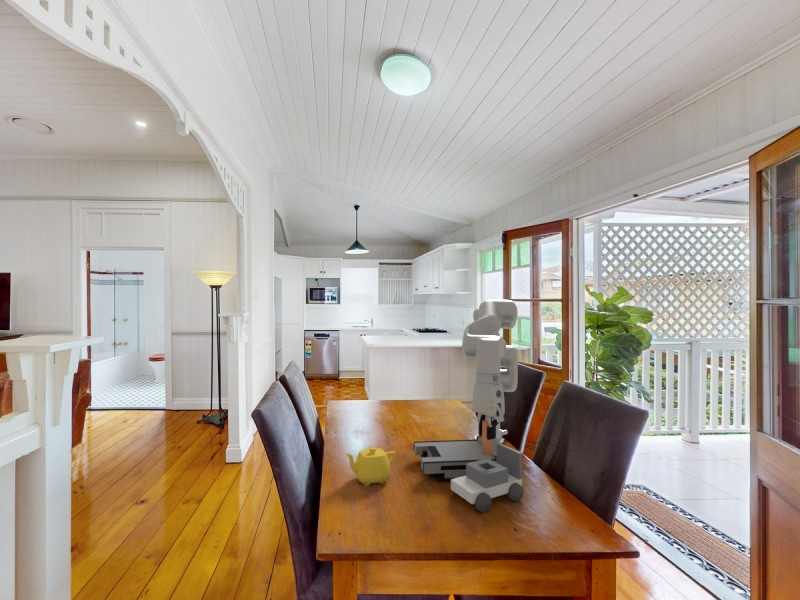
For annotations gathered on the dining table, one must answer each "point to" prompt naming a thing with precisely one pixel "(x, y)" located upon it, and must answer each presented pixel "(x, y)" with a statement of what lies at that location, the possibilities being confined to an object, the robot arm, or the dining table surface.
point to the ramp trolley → (491, 479)
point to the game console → (451, 456)
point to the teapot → (372, 465)
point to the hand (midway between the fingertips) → (487, 436)
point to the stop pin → (485, 442)
